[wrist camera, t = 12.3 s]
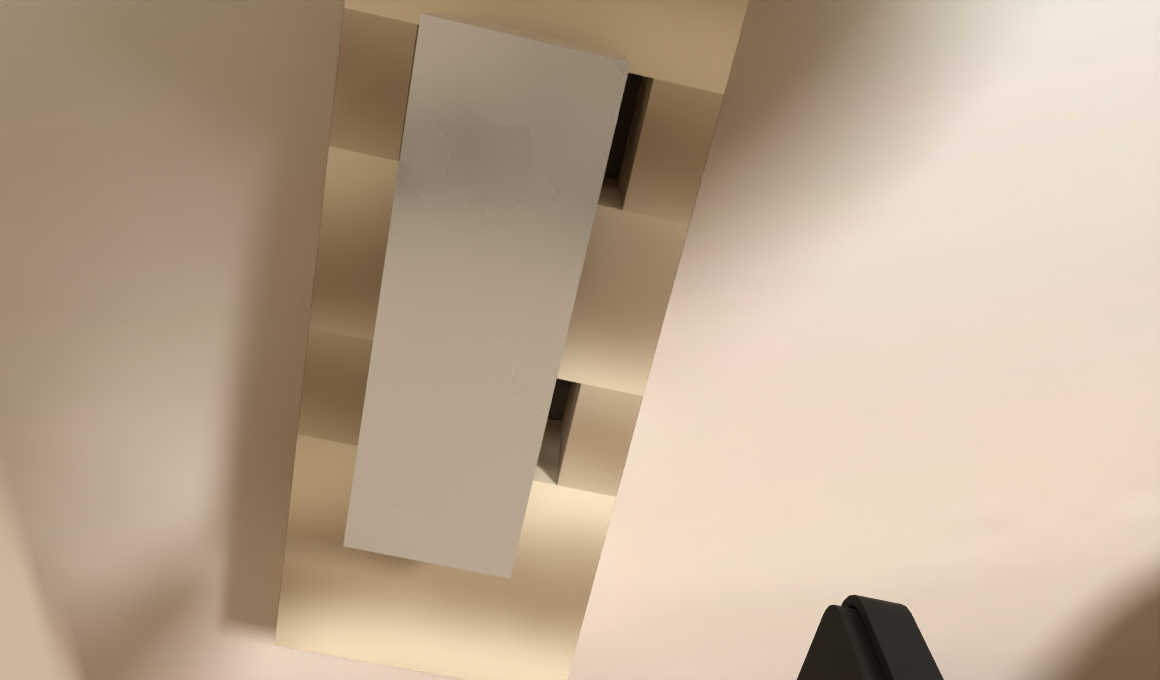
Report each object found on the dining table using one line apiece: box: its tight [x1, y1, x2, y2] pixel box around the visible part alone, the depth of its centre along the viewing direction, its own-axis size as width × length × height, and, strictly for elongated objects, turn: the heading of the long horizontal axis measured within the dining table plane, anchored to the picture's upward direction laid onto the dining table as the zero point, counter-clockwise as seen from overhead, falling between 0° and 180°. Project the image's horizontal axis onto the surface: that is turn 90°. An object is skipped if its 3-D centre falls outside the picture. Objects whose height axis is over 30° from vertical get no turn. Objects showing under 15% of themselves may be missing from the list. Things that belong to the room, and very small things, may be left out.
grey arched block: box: [343, 13, 630, 579], centre depth 22 cm, size 12×4×8 cm, turn 167°
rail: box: [274, 0, 749, 680], centre depth 24 cm, size 26×9×4 cm, turn 168°
